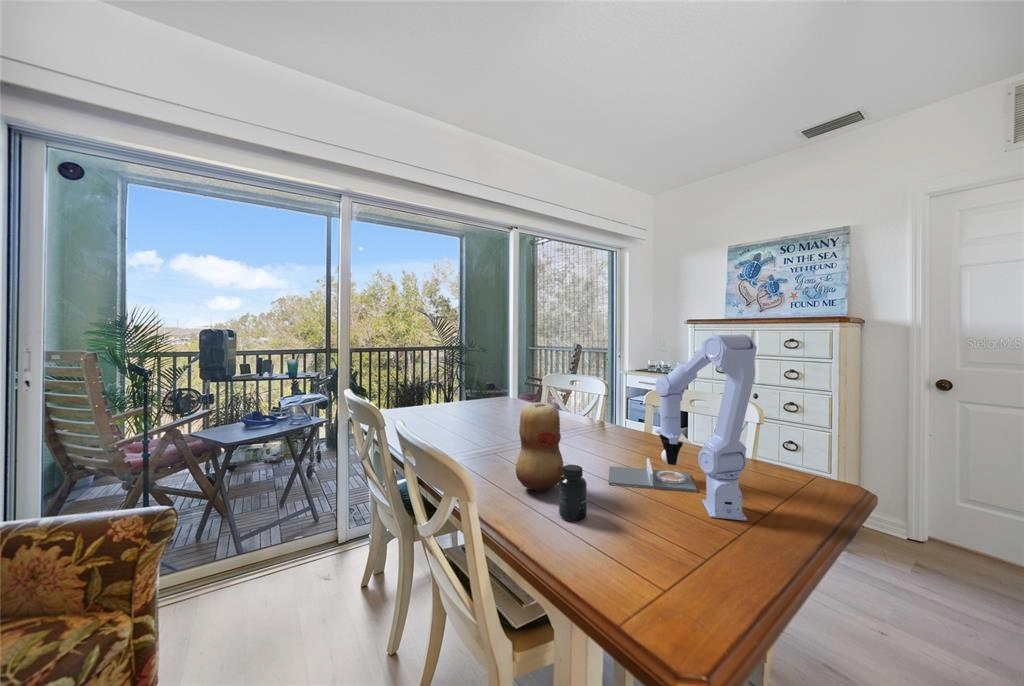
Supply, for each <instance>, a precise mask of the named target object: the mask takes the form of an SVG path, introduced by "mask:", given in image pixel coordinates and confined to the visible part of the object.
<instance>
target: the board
mask: <svg viewBox="0 0 1024 686" xmlns="http://www.w3.org/2000/svg"><path fill="white" fill-rule="evenodd" d="M650 460H651V459H650V458H646V468H634V467H621V466H609V474H608V485H609V484H616V485H627V486H626V487H628V486H637V487H636V488H640V487H644V488H643V489H651V488H657V489H656V490H663V489H665V490H664V491H667V490H668V491H677V492H678V491H679V492H687V493H688V492H690V493H698V489H697V487H696V485H695V482H694V481H693V478H692V477H691V475H690V472H688V471H677V470H676V471H675V470H664V469H663V470H662V469H652V464H651V461H650ZM616 485H615V486H616Z"/></svg>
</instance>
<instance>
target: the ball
mask: <svg viewBox="0 0 1024 686" xmlns="http://www.w3.org/2000/svg"><path fill="white" fill-rule="evenodd" d="M660 456H661V457H660V458H661V459H662V462H663V463H664V464H666V465H668V462H667V458H666V452H665V450H664V449H663V450H662V452H661V455H660ZM679 461H680V454H679V453H678V458H677V462H676V465H677V464H678V463H679Z"/></svg>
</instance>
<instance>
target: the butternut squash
mask: <svg viewBox="0 0 1024 686" xmlns="http://www.w3.org/2000/svg"><path fill="white" fill-rule="evenodd" d="M560 420H561V419H560V413H559V410H558V409H557V408H556V407H555V406H554V405H553V404H551V403H548V402H546V401H545V402H532V403H529V404H527V405H526V406H524V407H523V408H522V410H521V412H520V419H519V427H518V429H519V439H520V452H519V454H518V457H517V460H516V464H515V476H516V478H517V481H518V482H519V483H521V486H522V487H524V488H527V489H530V490H533V491H535V490H536V492H537V491H542V492H547V491H546V490H551V489H552V488H554V487H555V486H558V485H559V480H560V478H561V477H563V475H562V472H563V467H564V460H563V456H562V454H561V450H560V445H559V444H560V441H561V438H562V436H561V421H560Z"/></svg>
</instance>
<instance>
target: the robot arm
mask: <svg viewBox="0 0 1024 686" xmlns="http://www.w3.org/2000/svg"><path fill="white" fill-rule="evenodd" d="M757 348H758V347H757V345H756V344H755V342H754V341H753V339H752V338H751V336H749V335H748V334H745V333H741V334H711V335H708V336H707V338H706V339H704V340H703V341H702V342H701V347H700V349H698V350H697V351H696V352H695V354H693V356H692V357H690V359H689V360H688V361H687V362H685V361H684V362H683V361H682V362H678V363H677V364H676V366H675V368H673V369H672V370H671V371H669V372H668V374H667V375H665V376H659V377H657V379H656V381H655V384H654V385H655V387H654V388H655V390H656V393H657V395H659V429H656V430H655V433H656V434H658V437H659V438H660V440H661V441H660V442H661V444H662V447H663V450H665V452H666V458H667V462H668V464H667V465H668V466H676V465H677V464H676V462H677V458H678V454H679V453H680V452H681V448H682V447H683V445H684V444H683V441H678V440H679V439H680V437H681V436H682V431H681V428H682V426H681V421H682V420H681V415H682V414H681V402H682V401H683V394H684V393H685V391H686V387H688V386H689V385H690V384H691V383H692V382H694V380H695V379H697V377H698V372H700V371H701V370H702V369H704V368H705V367H706V366H708V365H709V364H711V363H712V364H713V365H715V367H716V368H717V369H718V370H719V371H720V372H722V373H724V375H725V382H724V387H723V392H722V395H721V396H722V397H721V401H720V405H719V409H718V410H719V411H718V415H717V419H716V423H715V428H714V432H713V435H712V436H711V437H709V438H708V439H707V440H706V441H705V442H704V443H703V448H702V449H701V450H700V451H699V453H698V457H697V459H698V465H699V468H701V470H702V471H703V474H705V479H706V480H705V482H706V483H705V485H706V486H705V488H706V490H705V491H706V492H705V494H706V495H705V497H706V498H705V499H704V498H703V499H702V500H701V502H702V504H703V506H704V507H705V510H706V513H708V516H709V517H710V518H715V519H724V520H725V519H728V520H736V521H747V520H748V518H747V516H746V515H745V514H744V513H743V494H742V493H743V492H742V491H741V489H740V487H739V486H740V484H739V483H740V481H739V480H740V476H742V471H744V470H745V469H746V467H747V457H746V455H747V447H746V446H745V445H744V443H742V441H741V435H742V430H743V426H744V423H745V417H746V414H747V410H748V406H749V401H750V397H751V394H752V393H751V392H752V389H753V384H754V380H755V375H756V368H755V359H756V353H757V350H758V349H757Z"/></svg>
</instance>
